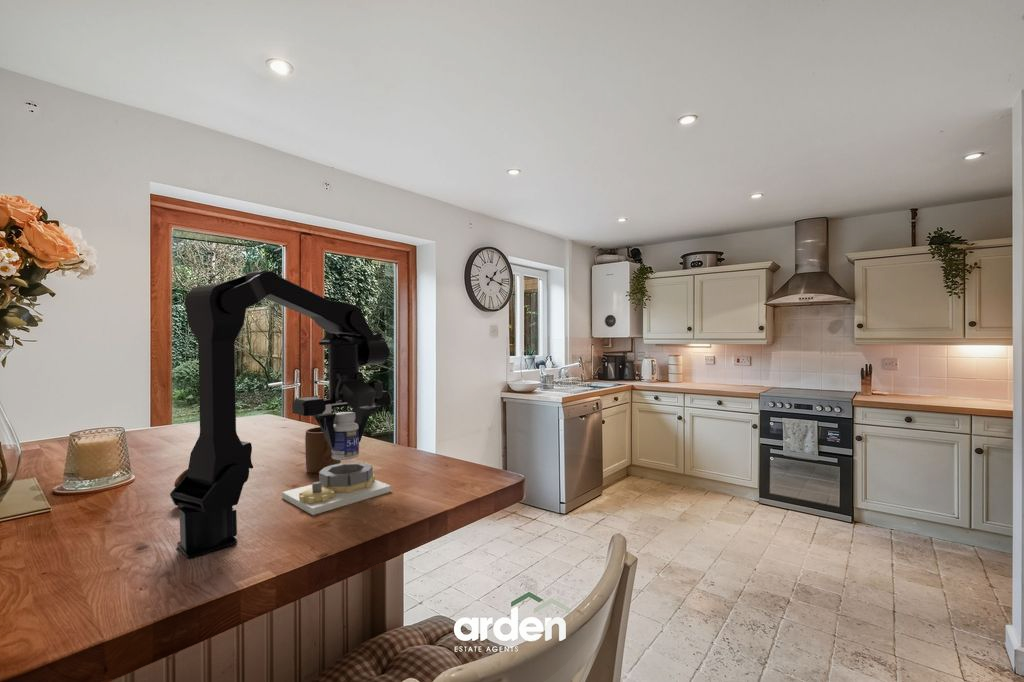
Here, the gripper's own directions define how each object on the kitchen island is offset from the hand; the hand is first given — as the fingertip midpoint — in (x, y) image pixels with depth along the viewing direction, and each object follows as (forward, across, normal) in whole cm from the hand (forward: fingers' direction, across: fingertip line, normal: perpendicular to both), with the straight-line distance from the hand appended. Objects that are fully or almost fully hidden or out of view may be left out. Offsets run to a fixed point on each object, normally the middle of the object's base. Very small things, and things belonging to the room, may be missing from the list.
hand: (345, 444), depth 96 cm
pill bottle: (+3, 0, 0) cm, 3 cm away
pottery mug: (+10, -21, +17) cm, 28 cm away
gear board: (+9, -2, -1) cm, 10 cm away
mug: (+10, +4, +16) cm, 19 cm away
